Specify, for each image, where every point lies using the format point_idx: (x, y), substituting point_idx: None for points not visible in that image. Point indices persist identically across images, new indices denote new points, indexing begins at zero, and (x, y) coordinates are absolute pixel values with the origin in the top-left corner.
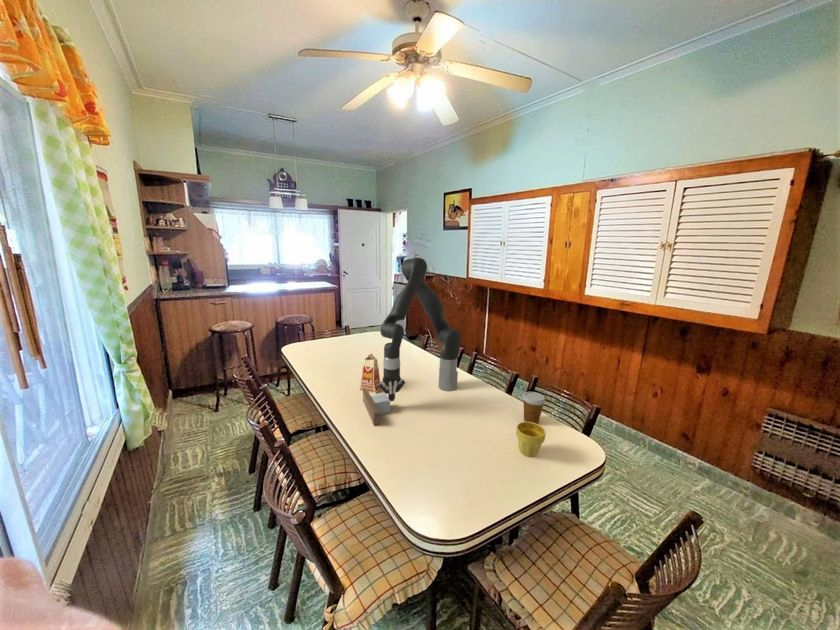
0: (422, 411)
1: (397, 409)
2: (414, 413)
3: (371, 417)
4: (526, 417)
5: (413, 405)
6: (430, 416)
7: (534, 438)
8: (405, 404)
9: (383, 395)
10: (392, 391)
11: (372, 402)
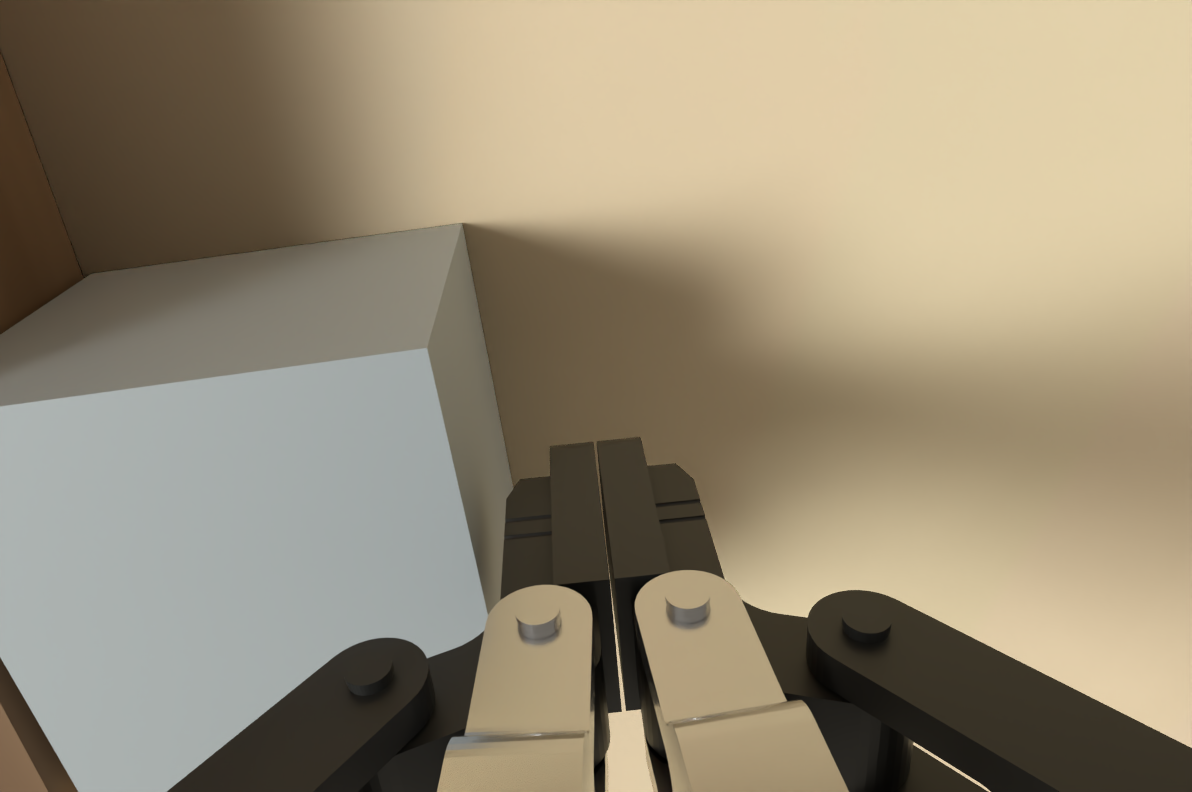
0: (1124, 582)
1: (700, 445)
2: (958, 618)
3: None
4: None
5: (1089, 350)
6: (1153, 723)
7: None
8: (944, 274)
9: (343, 454)
10: (651, 729)
11: (5, 779)
